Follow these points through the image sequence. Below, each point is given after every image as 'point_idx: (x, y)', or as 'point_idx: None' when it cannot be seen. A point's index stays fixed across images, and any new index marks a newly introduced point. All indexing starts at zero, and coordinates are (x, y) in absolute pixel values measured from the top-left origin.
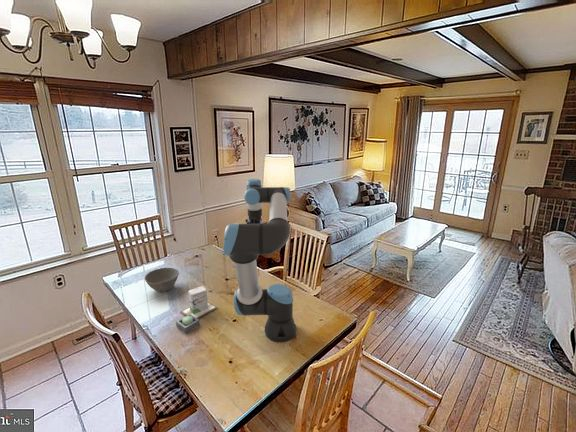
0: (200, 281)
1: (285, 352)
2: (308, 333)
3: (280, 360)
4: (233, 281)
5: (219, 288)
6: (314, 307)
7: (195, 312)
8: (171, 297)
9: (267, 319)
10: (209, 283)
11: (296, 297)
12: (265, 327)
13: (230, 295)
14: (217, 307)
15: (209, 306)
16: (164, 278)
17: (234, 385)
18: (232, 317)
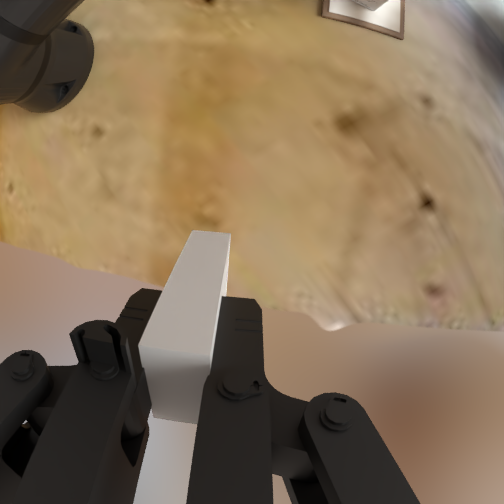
0: (488, 145)
1: None
2: (5, 118)
3: None
4: (399, 202)
5: (413, 131)
6: (47, 226)
7: None
8: (485, 30)
9: (60, 31)
10: (461, 146)
11: (115, 241)
12: (78, 28)
13: (344, 107)
14: (322, 15)
15: (351, 7)
16: None
17: None
18: (228, 4)
